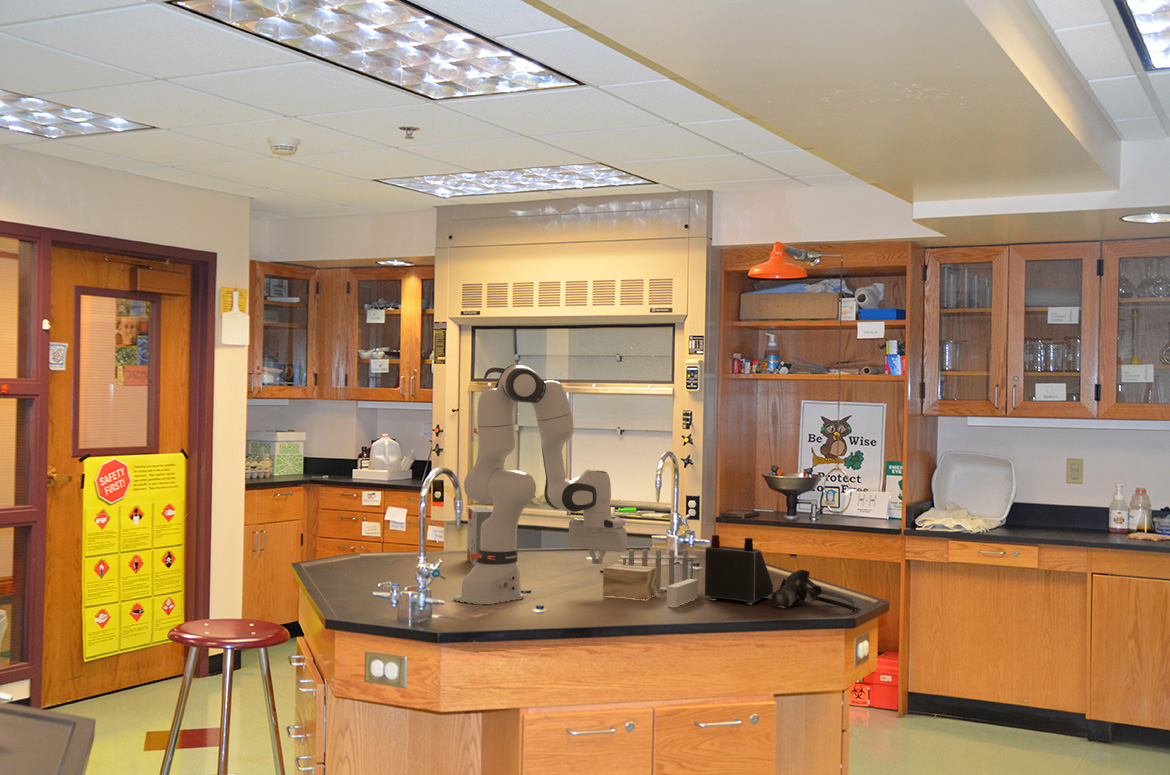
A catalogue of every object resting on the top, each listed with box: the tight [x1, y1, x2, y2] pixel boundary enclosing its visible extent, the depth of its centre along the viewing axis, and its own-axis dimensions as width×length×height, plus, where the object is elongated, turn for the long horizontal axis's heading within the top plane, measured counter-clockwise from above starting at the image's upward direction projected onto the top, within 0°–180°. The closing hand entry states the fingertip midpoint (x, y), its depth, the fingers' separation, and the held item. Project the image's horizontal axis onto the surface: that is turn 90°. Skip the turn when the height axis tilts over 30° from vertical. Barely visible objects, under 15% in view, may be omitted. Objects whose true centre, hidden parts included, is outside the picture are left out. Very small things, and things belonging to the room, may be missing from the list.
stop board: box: [666, 578, 699, 606], centre depth 311 cm, size 16×3×6 cm, turn 150°
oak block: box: [602, 563, 657, 600], centre depth 320 cm, size 10×14×9 cm
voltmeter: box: [704, 534, 774, 603], centre depth 319 cm, size 16×16×20 cm
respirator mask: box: [771, 569, 858, 611], centre depth 310 cm, size 20×22×15 cm
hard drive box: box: [466, 506, 493, 567], centre depth 381 cm, size 16×8×20 cm, turn 17°
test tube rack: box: [619, 548, 698, 591], centre depth 331 cm, size 25×4×13 cm, turn 98°
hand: (597, 563), depth 327 cm, fingers closed
